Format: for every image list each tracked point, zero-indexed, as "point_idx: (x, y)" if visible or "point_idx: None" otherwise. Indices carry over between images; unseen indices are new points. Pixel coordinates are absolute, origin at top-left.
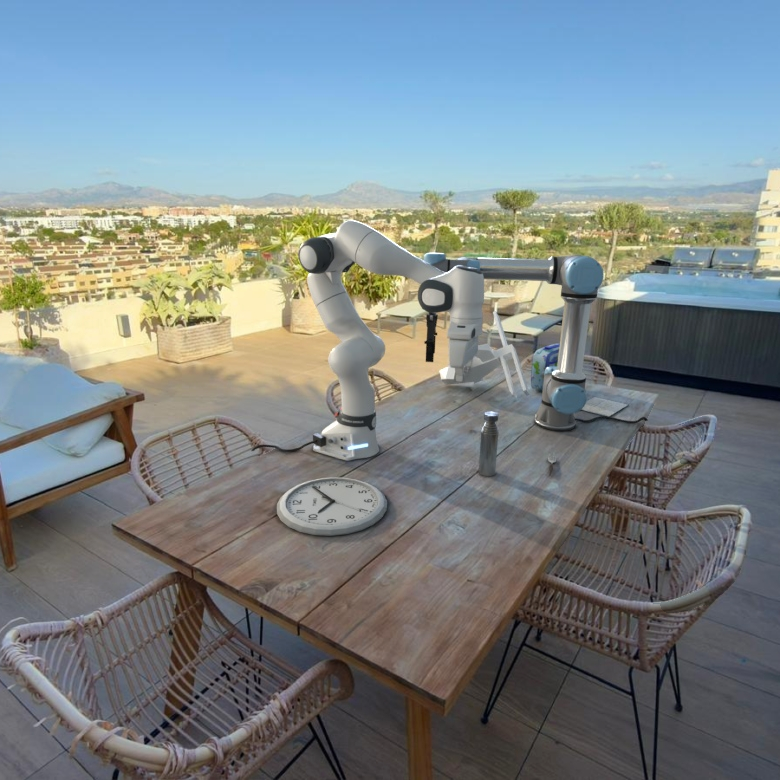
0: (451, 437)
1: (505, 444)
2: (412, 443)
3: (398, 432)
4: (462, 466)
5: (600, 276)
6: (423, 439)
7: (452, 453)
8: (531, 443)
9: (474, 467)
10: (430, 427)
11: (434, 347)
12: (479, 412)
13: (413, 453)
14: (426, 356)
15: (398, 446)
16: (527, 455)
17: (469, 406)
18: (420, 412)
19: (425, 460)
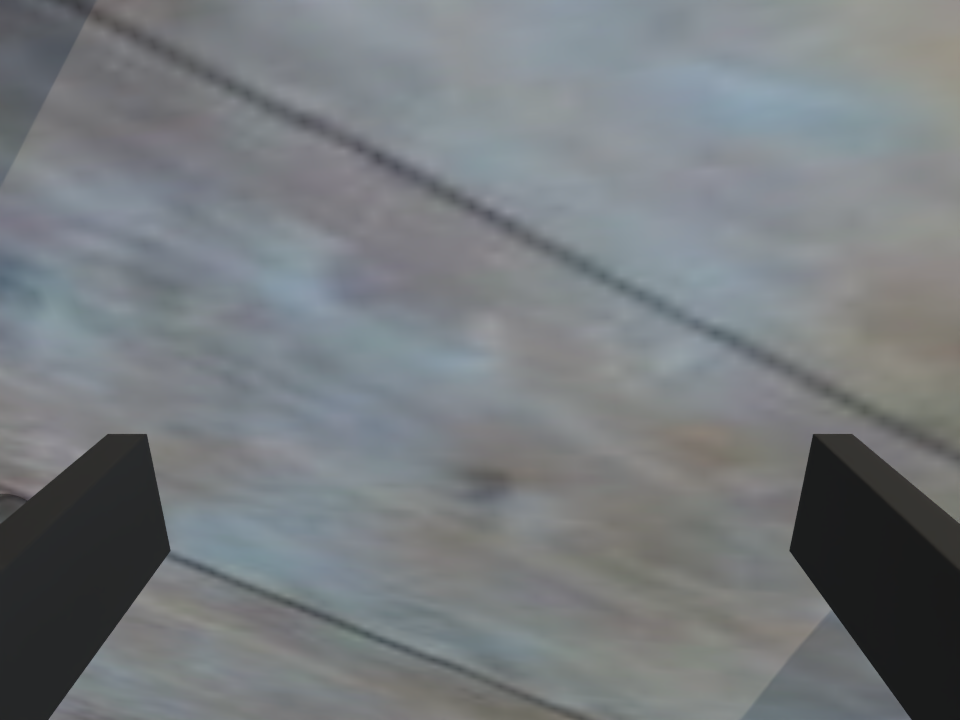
0: (379, 381)
1: (348, 611)
2: (235, 167)
3: (391, 55)
4: (34, 431)
5: None
6: (313, 229)
7: (167, 387)
8: (386, 702)
9: (45, 479)
10: (513, 261)
11: (849, 622)
12: (789, 526)
13: (95, 184)
14: (43, 501)
15: (163, 81)
16: (250, 676)
17: None
18: (790, 180)
19: (30, 256)
